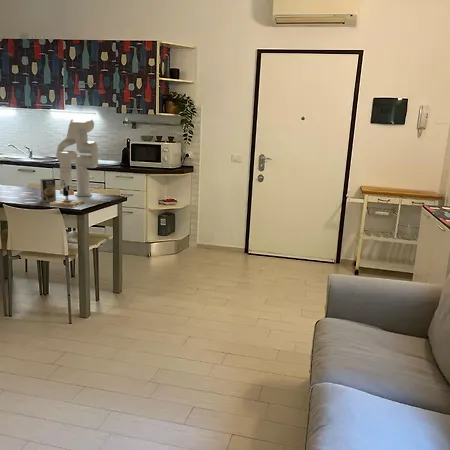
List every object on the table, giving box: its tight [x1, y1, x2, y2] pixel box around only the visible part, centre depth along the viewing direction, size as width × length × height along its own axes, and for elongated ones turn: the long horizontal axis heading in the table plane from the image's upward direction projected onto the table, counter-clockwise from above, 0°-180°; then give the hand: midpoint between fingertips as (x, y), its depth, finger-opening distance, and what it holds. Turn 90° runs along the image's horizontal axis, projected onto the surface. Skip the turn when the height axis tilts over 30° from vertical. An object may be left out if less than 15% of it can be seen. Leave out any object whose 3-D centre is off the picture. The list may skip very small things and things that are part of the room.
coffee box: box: [40, 178, 57, 203], centre depth 342 cm, size 9×6×16 cm
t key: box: [59, 188, 75, 202], centre depth 333 cm, size 10×4×8 cm, turn 78°
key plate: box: [48, 198, 85, 208], centre depth 334 cm, size 17×17×2 cm
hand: (66, 195), depth 333 cm, fingers closed on t key, 2 cm apart
